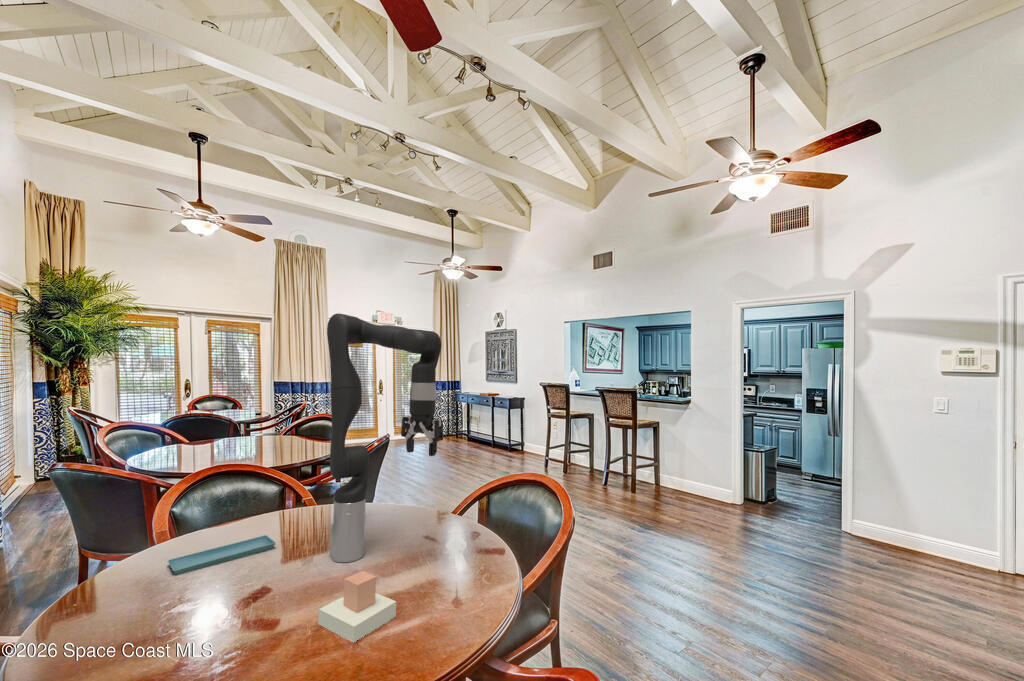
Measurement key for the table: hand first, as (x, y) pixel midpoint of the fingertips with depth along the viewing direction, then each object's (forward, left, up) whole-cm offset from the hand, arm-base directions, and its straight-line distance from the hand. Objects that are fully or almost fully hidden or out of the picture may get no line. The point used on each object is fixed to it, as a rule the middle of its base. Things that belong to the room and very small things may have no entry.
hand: (421, 453), depth 129 cm
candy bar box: (-46, +13, -33) cm, 58 cm away
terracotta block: (+6, -26, -30) cm, 40 cm away
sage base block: (+6, -26, -34) cm, 43 cm away
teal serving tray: (-54, -26, -34) cm, 69 cm away
